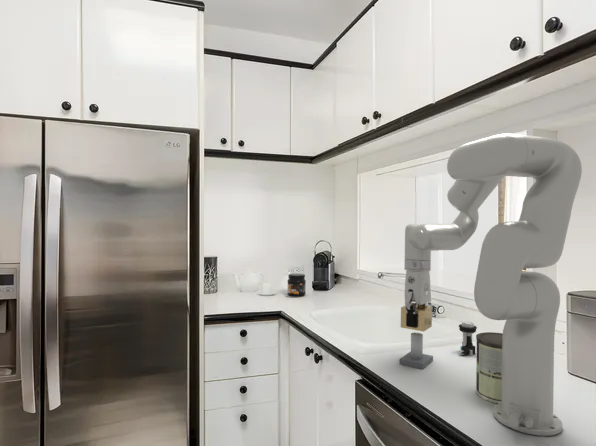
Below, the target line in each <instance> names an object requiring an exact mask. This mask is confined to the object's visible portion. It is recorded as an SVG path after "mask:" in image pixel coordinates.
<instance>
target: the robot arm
mask: <svg viewBox="0 0 596 446" xmlns="http://www.w3.org/2000/svg"><path fill="white" fill-rule="evenodd" d="M446 169H447V174H448V175H449V177H450V178H451V179H453V180H455V181H454V183H453V184H452V185H451V187H450V189H448V191H447V195H446V198H447V200H448V202H449V204H450V205H451V206H452V207H453V208H455V209H456V210H457V211H459V214H458V215H457V216H456V217H455V218H454V220H453V222H451V223H425V224H423V223H411V224H408V225H406V226H405V230H404V271H405V280H404V306H405V305H406V326H408V327H413V328H417V320H418V314H416V312H417V307H418V305H423V306H427V303H429V302H430V301H431V298H432V297H431V294H432V293H431V292H432V291H431V274H430V273H431V269H432V267H431V265H432V263H431V262H432V261H431V259H432V257H431V256H432V251H433V252H434V251H455V250H458V249H461V248H462V247H463V246H464V245H465V244H466V243H467V242H468V241H469V240H470V239H471V238H472V236H473V235H474V234H475V232H476V230H477V228H478V224H479V217H480V216H479V208H480V207H481V206H482V205H483V204H484V202H485V201H486V200H487V198H488V197H490V195H491V194H492V193H493V191H494V190H495V189H496V187H497V186H498V185H499V184H500V182H501V181H502V180H503V179H504V177H515V178H516V177H520V178H532V179H534V180H535V182H534V183H533V184H532V185H531V186H530V188H529V189H528V191H527V192H526V194H525V196H524V199H523V202H522V206H521V213H520V216H519V219H518V221H504V222H500V223H497V224H495V225H494V226H492V227H491V228H490V229H489V230H488V231H487V233H486V235H485V236H484V239H483V241H482V244H481V249H480V255H479V259H478V264H477V270H476V275H475V281H474V286H473V287H474V291H473V296H474V302H475V306H476V308H477V310H478V312H480V313H481V314H482V315H483V316H484V317H485V318H486V319H487V318H488V319H490V320H493V321H505V322H504V325H503V329H502V333H503V334H502V403H499V404H497V403H496V405H494V407H493V411H492V412H493V416H494V418H495V419H496V420H497V421H498V422H499V423H501V424H502V425H504V426H506V427H508V428H509V429H510V428H511V429H512V430H514V431H518V432H520V433H523V434H529V435H534V436H539V437H543V436H544V437H547V436H548V437H550V436H554V435H555V436H556V435H558V434H560V433H561V432H562V431H563V422H562V420H561V419H560V418H559V417H558V416H557V415H556V414H554V393H555V391H554V383H555V380H554V377H555V375H554V374H555V372H554V371H555V370H554V369H555V365H554V364H555V335H556V334H555V333H556V332H555V330H556V324H557V319H558V314H559V309H560V305H561V294H560V290H559V289H560V288H559V287H558V285H557V284H556V282H555V281H554V280H553V279H552V278H551V277H549V276H548V275H546V274H544V273H542V272H536V271H524V269H526V270H527V269H542V268H549V267H552V266H553V265H556V263H557V262H559V261H560V259H561V256H562V254H563V251H564V247H565V242H566V239H567V233H568V229H569V224H570V221H571V216H572V209H573V207H574V206H573V205H574V201H575V198H576V195H577V192H578V190H579V186H580V183H581V179H582V172H583V171H582V170H583V168H582V162H581V158H580V156H579V154H578V153H577V152H576V150H575V149H574V148H573V147H571V146H570V145H569V144H567V143H565V142H563V141H561V140H558V139H554V138H551V137H545V136H536V135H527V134H526V135H524V134H519V133H518V134H517V133H501V134H500V133H499V134H495V135H492V136H488V137H484V138H481V139H477V140H474V141H471V142H467V143H465V144H461V145H460V146H458V147H457V148H455V149H454V150H453V151H452V152H451V154H450V155H449V158H448V159H447V163H446ZM411 305H412V306H411ZM413 306H414V308H413Z"/></svg>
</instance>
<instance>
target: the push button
mask: <svg viewBox="0 0 596 446" xmlns="http://www.w3.org/2000/svg"><path fill="white" fill-rule="evenodd" d="M458 329H459V331H460V332H461V333H462V342H461V343H462V345H461V346H460V349H459V350H458V352H459V353H458V355H460V356H465V357H467V356H473V355H476V345H474V344H473V334H474V333H476V332H477V329H478V327H477V326H476V325H475V323H474V322H471V321H461V323H460V324H459V325H458Z"/></svg>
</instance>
